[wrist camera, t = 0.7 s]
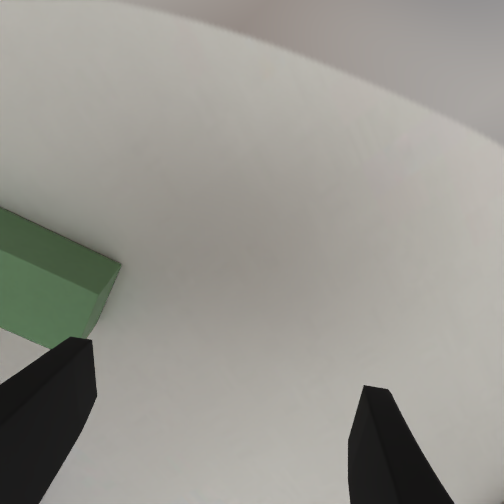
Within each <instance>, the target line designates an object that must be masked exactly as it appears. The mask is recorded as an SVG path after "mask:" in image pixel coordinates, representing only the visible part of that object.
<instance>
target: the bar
mask: <svg viewBox="0 0 504 504" xmlns="http://www.w3.org/2000/svg"><path fill="white" fill-rule="evenodd" d="M120 268H121V264H119V263H117V262H115V261H113V260H111V259H109V258H107V257H105V256H102V255H100V254H98V253H96V252H94V251H92V250H90V249H88V248H85V247H83V246H81V245H79V244H77V243H75V242H73V241H71V240H69V239H66V238H64V237H62V236H60V235H58V234H56V233H54V232H52V231H49V230H47V229H45V228H43V227H41V226H39V225H37V224H35V223H32V222H30V221H28V220H26V219H24V218H22V217H20V216H18V215H16V214H13V213H11V212H9V211H7V210H5V209H3V208H1V207H0V327H1V328H3V329H5V330H7V331H10V332H12V333H14V334H17V335H19V336H21V337H23V338H26V339H28V340H30V341H33V342H35V343H37V344H39V345H42V346H44V347H46V348H49V349H53V348H54V347H55V346H57V345H58V344H60V343H61V342H63V341H64V340H66V339H67V338H69V337H70V336H71V337H77V338H83V339H86V338H87V337H88V335H89V334H90V332H91V331H92V329H93V328H94V326H95V325H96V323H97V321H98V319H99V317H100V314H101V312H102V310H103V307H104V305H105V303H106V300H107V298H108V296H109V293H110V291H111V289H112V286H113V284H114V282H115V279H116V277H117V275H118V272H119V270H120Z"/></svg>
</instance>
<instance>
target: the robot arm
mask: <svg viewBox="0 0 504 504" xmlns="http://www.w3.org/2000/svg"><path fill="white" fill-rule="evenodd" d="M96 398H97V389H96V378H95V367H94V356H93V345H92V340H89V339H83V338H77V337H71V336H70V337H69V338H67V339H66V340H64V341H63V342H61V343H60V344H58V345H57V346H55V347H54V348H53V349H51V350H50V351H48V352H47V353H45V354H44V355H43V356H41V357H40V358H38V359H37V360H35V361H34V362H33V363H31V364H30V365H28V366H27V367H25V368H24V369H23V370H21V371H20V372H18V373H17V374H15V375H14V376H12V377H11V378H9V379H8V380H6V381H5V382H3V383H2V384H0V504H39V503H40V501H41V499H42V498H43V496H44V494H45V493H46V491H47V489H48V488H49V486H50V484H51V483H52V481H53V479H54V478H55V476H56V474H57V473H58V471H59V469H60V468H61V466H62V464H63V463H64V461H65V459H66V457H67V456H68V454H69V452H70V451H71V449H72V447H73V446H74V444H75V442H76V440H77V439H78V437H79V435H80V433H81V432H82V430H83V427H84V425H85V423H86V421H87V419H88V416H89V414H90V412H91V409H92V407H93V405H94V402H95V400H96ZM348 484H349V494H350V503H351V504H454V502H453V501H452V499H451V498H450V496H449V494H448V493H447V491H446V490H445V488H444V487H443V485H442V484H441V482H440V481H439V479H438V477H437V476H436V474H435V473H434V471H433V469H432V468H431V466H430V464H429V463H428V461H427V459H426V457H425V456H424V454H423V452H422V451H421V449H420V447H419V446H418V444H417V442H416V440H415V438H414V437H413V435H412V433H411V431H410V429H409V427H408V426H407V424H406V422H405V420H404V418H403V416H402V414H401V412H400V410H399V408H398V406H397V404H396V402H395V400H394V398H393V396H392V394H391V392H390V391H389V390H388V389H383V388H377V387H371V386H365V385H364V387H363V390H362V394H361V397H360V401H359V404H358V408H357V411H356V415H355V418H354V422H353V425H352V429H351V432H350V436H349V439H348Z"/></svg>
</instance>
